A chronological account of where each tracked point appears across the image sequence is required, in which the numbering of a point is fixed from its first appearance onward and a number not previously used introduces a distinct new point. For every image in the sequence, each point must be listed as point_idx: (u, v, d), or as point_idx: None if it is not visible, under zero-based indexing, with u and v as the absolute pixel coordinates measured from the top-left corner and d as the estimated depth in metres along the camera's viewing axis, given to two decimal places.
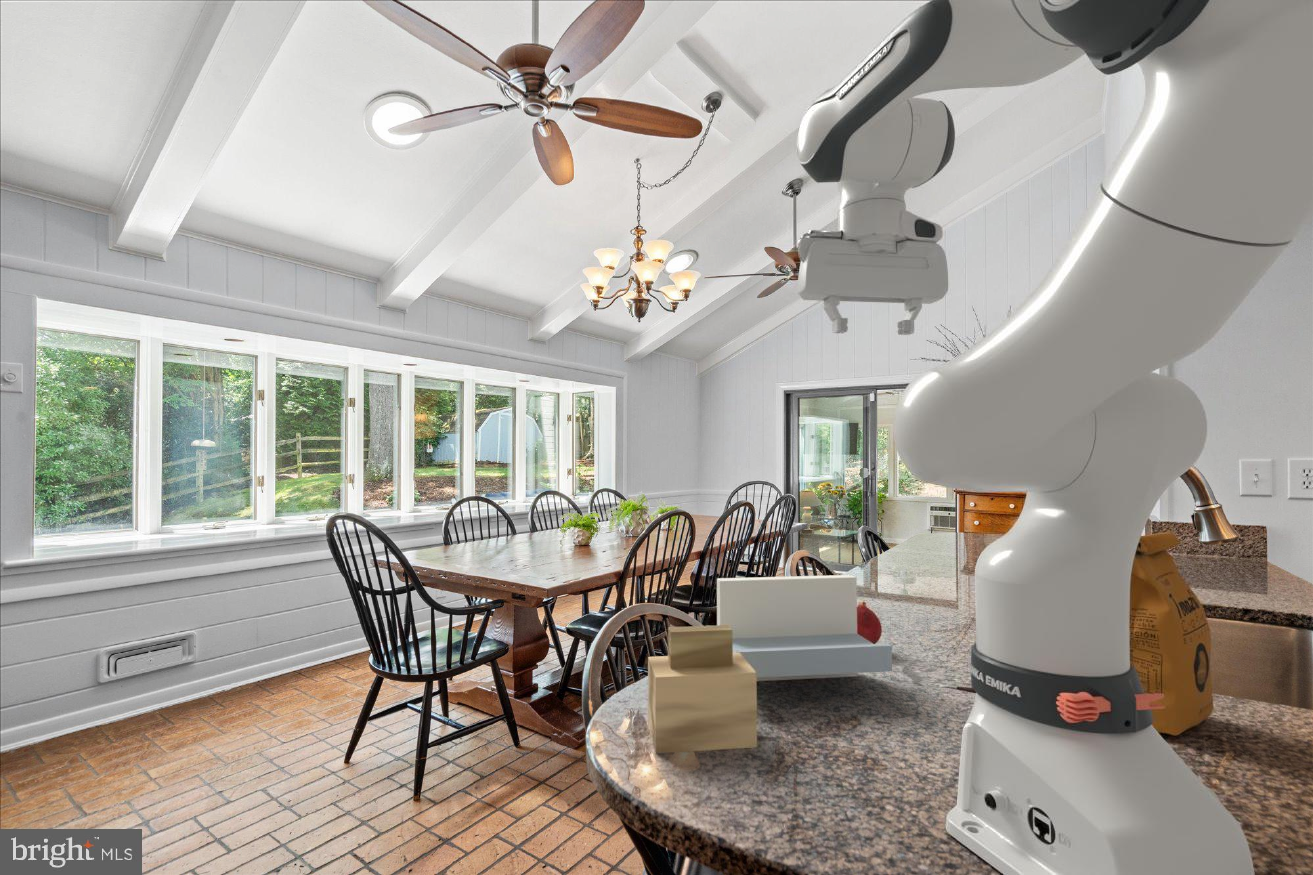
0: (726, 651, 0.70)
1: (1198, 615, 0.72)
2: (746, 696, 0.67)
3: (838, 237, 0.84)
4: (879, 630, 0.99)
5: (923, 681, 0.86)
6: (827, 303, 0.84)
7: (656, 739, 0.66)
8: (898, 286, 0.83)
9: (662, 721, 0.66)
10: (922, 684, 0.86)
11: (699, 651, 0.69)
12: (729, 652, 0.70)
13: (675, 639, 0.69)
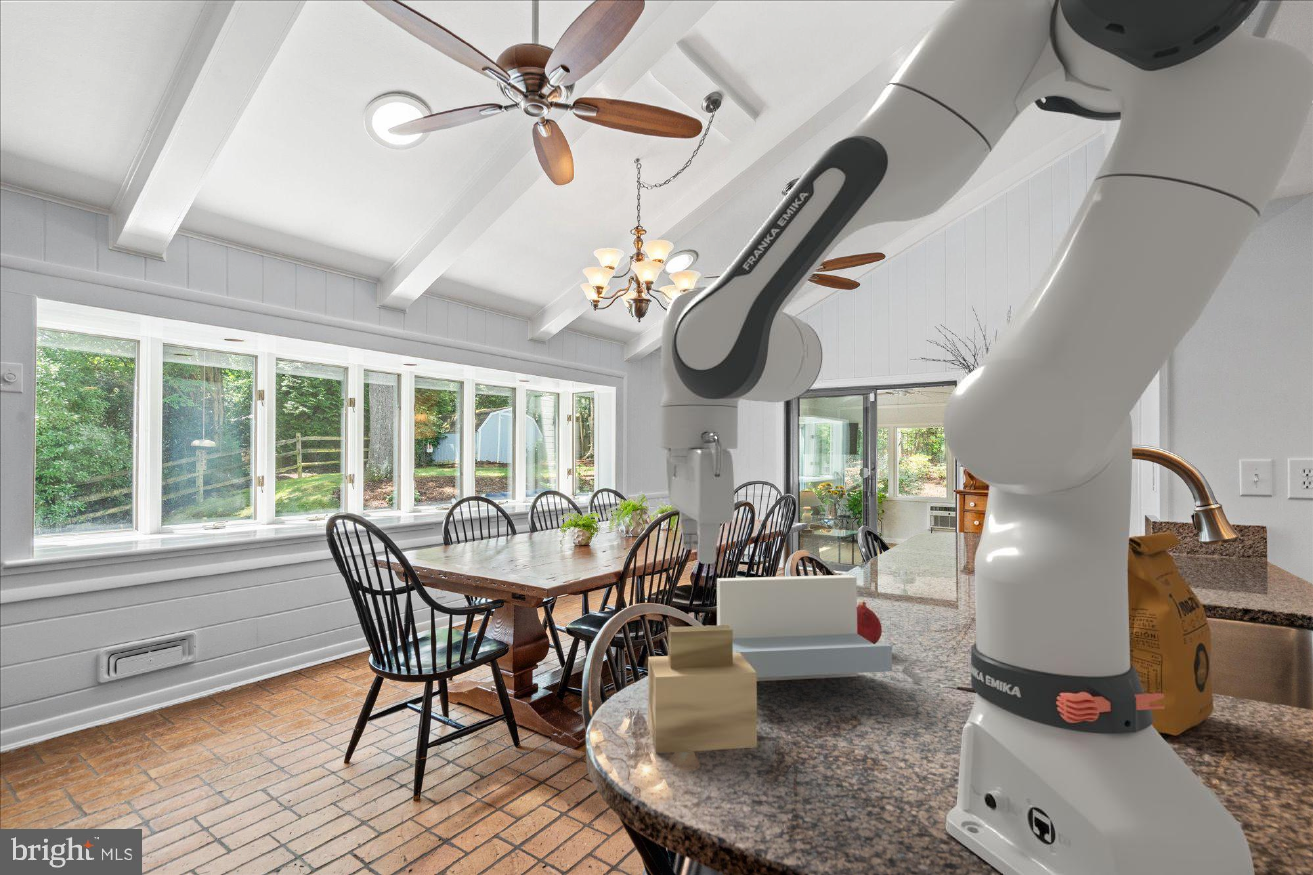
0: (726, 651, 0.70)
1: (1198, 615, 0.72)
2: (746, 696, 0.67)
3: None
4: (879, 630, 0.99)
5: (923, 682, 0.86)
6: (712, 527, 0.65)
7: (656, 739, 0.66)
8: None
9: (662, 721, 0.66)
10: (922, 684, 0.86)
11: (699, 651, 0.69)
12: (729, 652, 0.70)
13: (675, 639, 0.69)
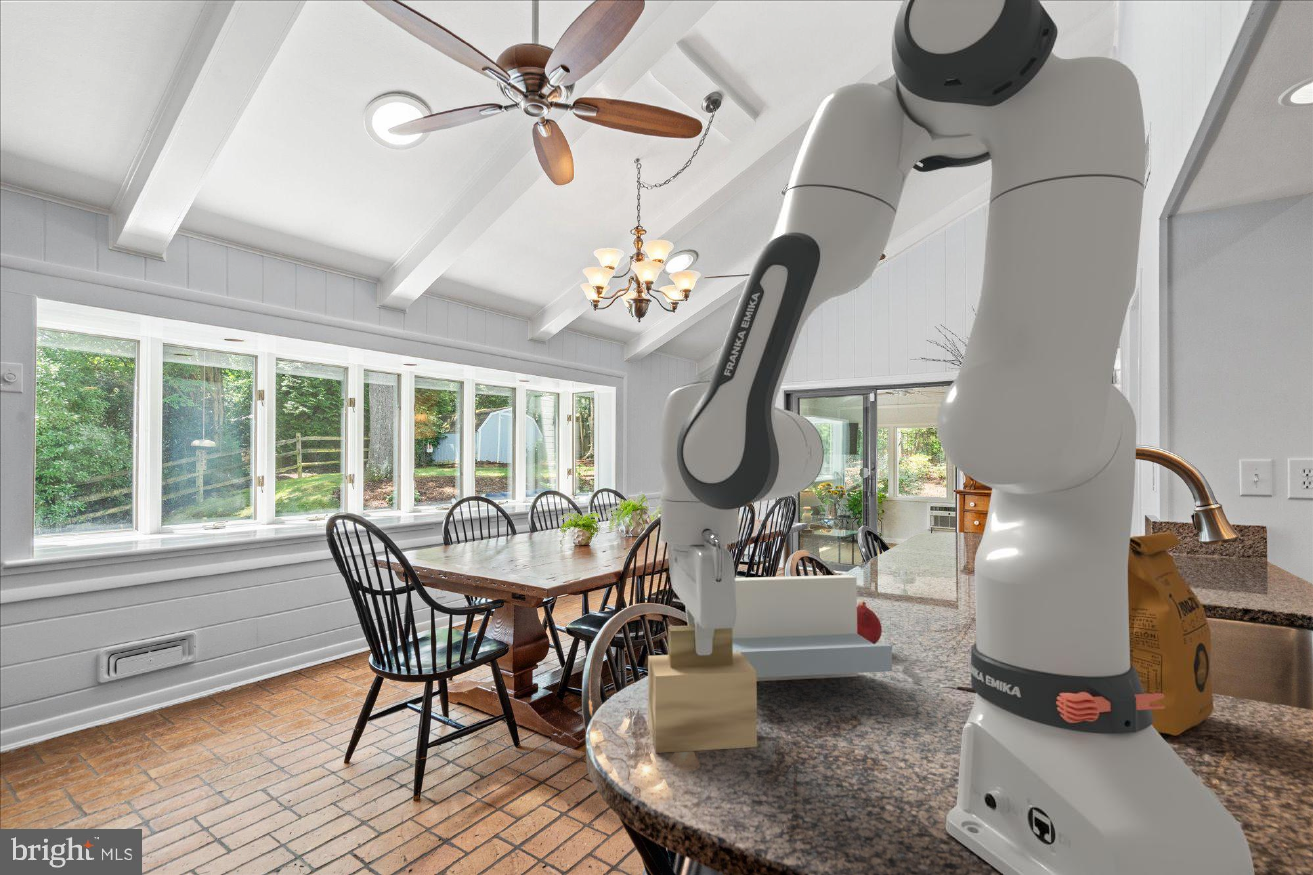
0: (726, 650, 0.70)
1: (1198, 615, 0.72)
2: (746, 695, 0.67)
3: None
4: (879, 630, 0.99)
5: (923, 682, 0.86)
6: None
7: (656, 738, 0.66)
8: None
9: (662, 720, 0.66)
10: (922, 684, 0.86)
11: None
12: (729, 651, 0.70)
13: (675, 638, 0.69)
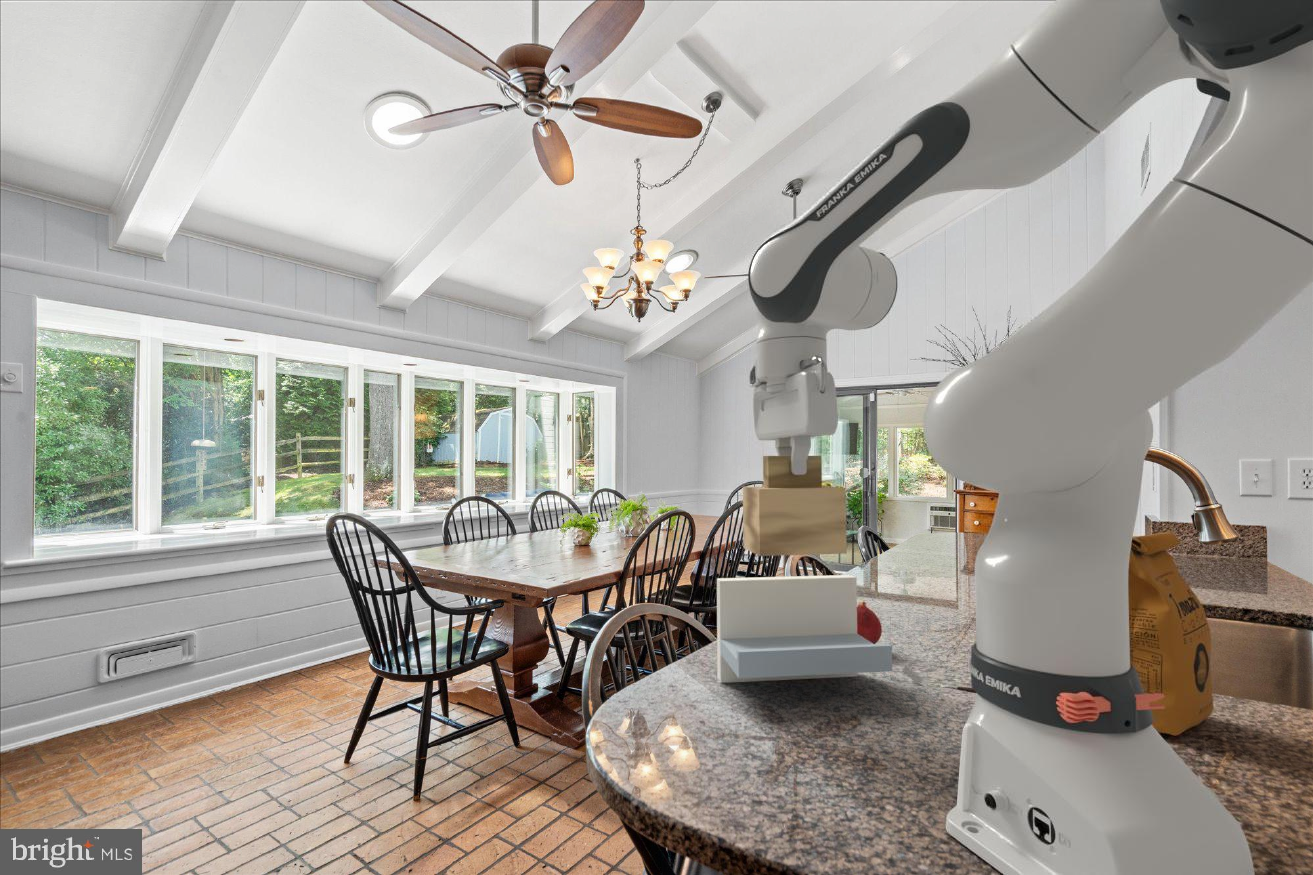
0: (816, 474, 0.79)
1: (1198, 615, 0.72)
2: (837, 508, 0.76)
3: None
4: (879, 630, 0.99)
5: (923, 682, 0.86)
6: (805, 443, 0.76)
7: (760, 543, 0.75)
8: None
9: (765, 527, 0.75)
10: (923, 684, 0.86)
11: None
12: (819, 475, 0.79)
13: (772, 462, 0.78)
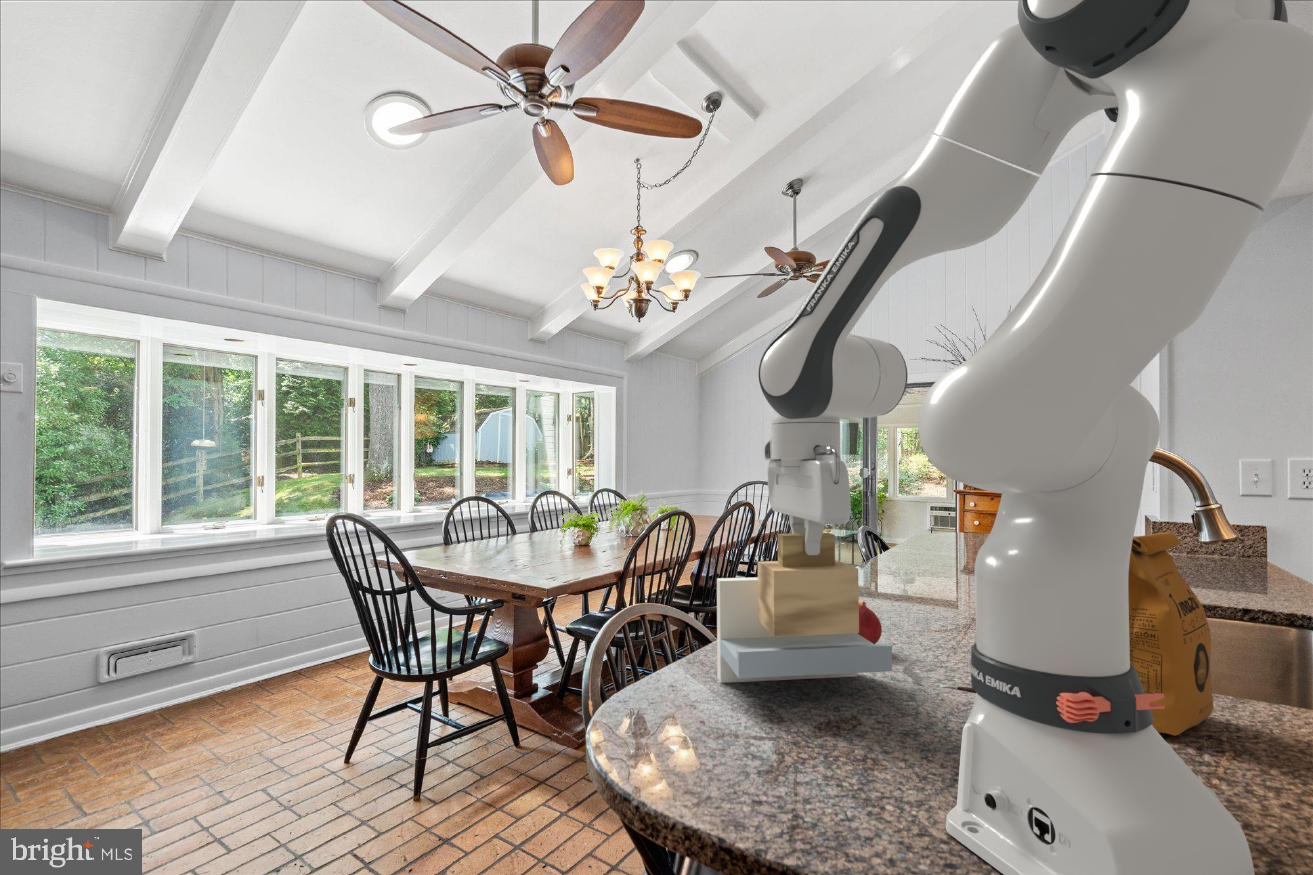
0: (829, 553, 0.81)
1: (1198, 615, 0.72)
2: (850, 589, 0.79)
3: None
4: (879, 630, 0.99)
5: (923, 682, 0.86)
6: (818, 525, 0.78)
7: (774, 623, 0.77)
8: None
9: (779, 608, 0.77)
10: (923, 684, 0.85)
11: None
12: (832, 554, 0.81)
13: (786, 542, 0.80)
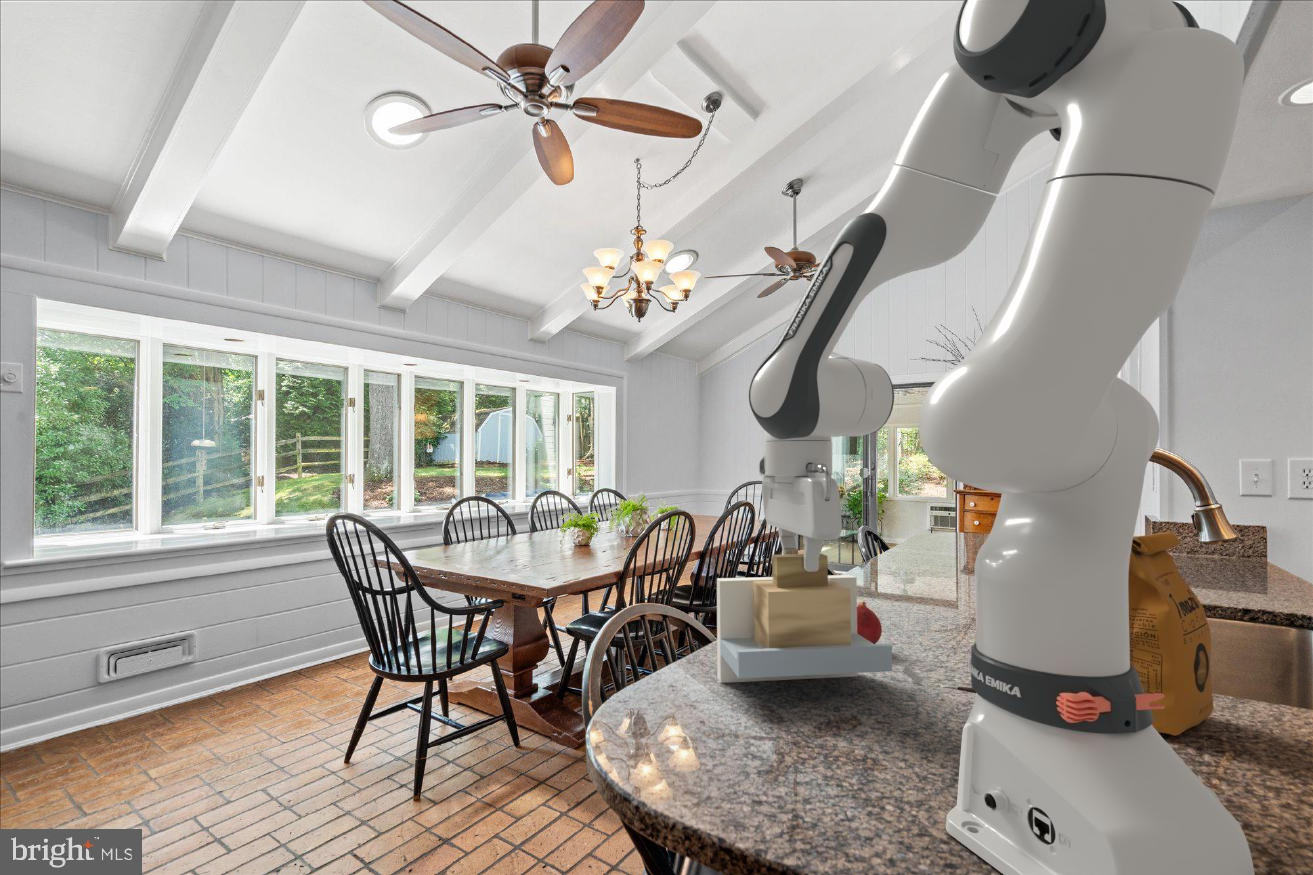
0: (822, 573, 0.84)
1: (1198, 615, 0.72)
2: (842, 609, 0.81)
3: None
4: (879, 630, 0.99)
5: (923, 682, 0.86)
6: (817, 542, 0.79)
7: (769, 643, 0.80)
8: None
9: (774, 628, 0.80)
10: (923, 684, 0.85)
11: (800, 573, 0.83)
12: (825, 574, 0.84)
13: (781, 563, 0.83)
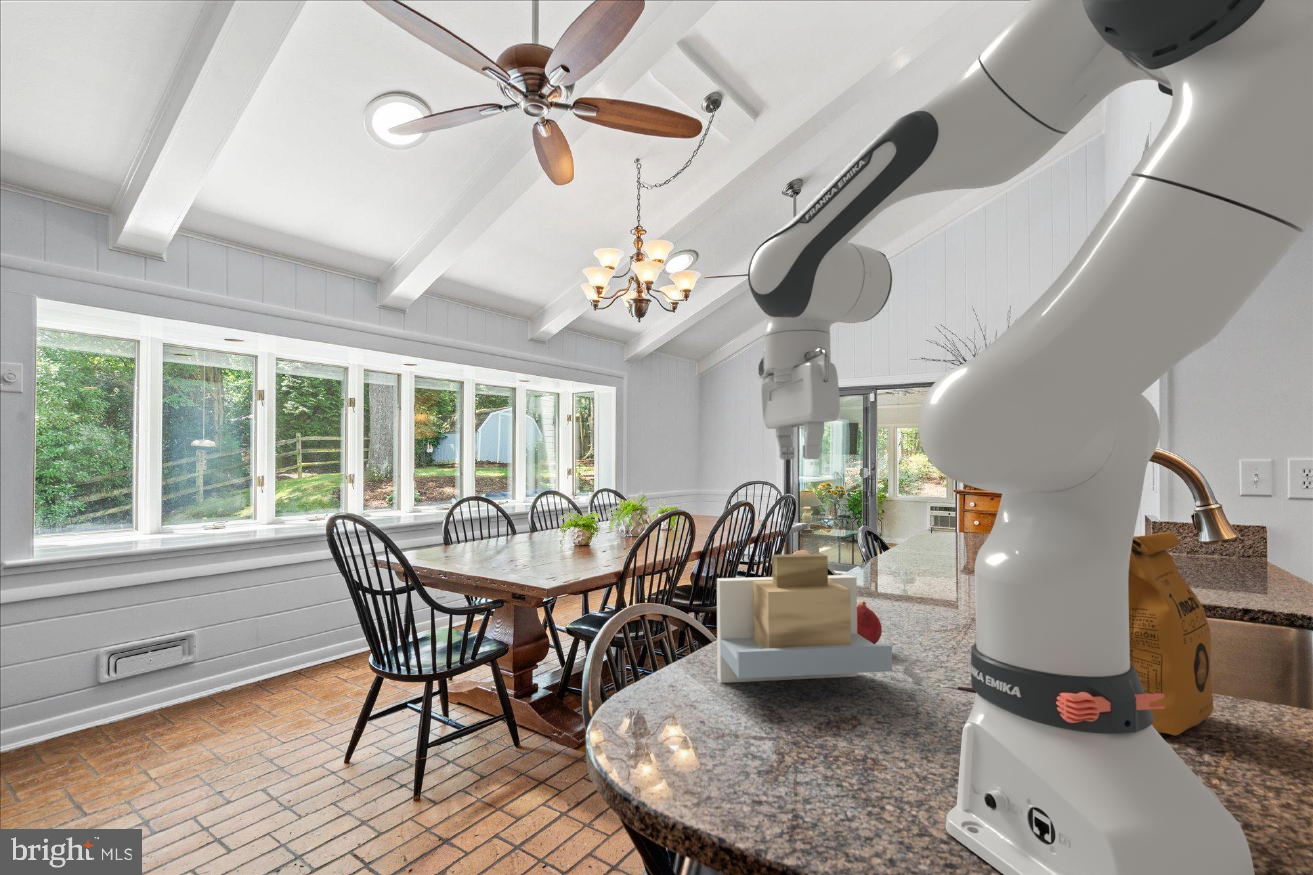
0: (822, 573, 0.84)
1: (1198, 615, 0.72)
2: (842, 609, 0.81)
3: None
4: (879, 630, 0.99)
5: (924, 682, 0.86)
6: (818, 428, 0.79)
7: (769, 643, 0.80)
8: None
9: (774, 628, 0.80)
10: (923, 684, 0.85)
11: (800, 573, 0.83)
12: (825, 574, 0.84)
13: (781, 563, 0.83)
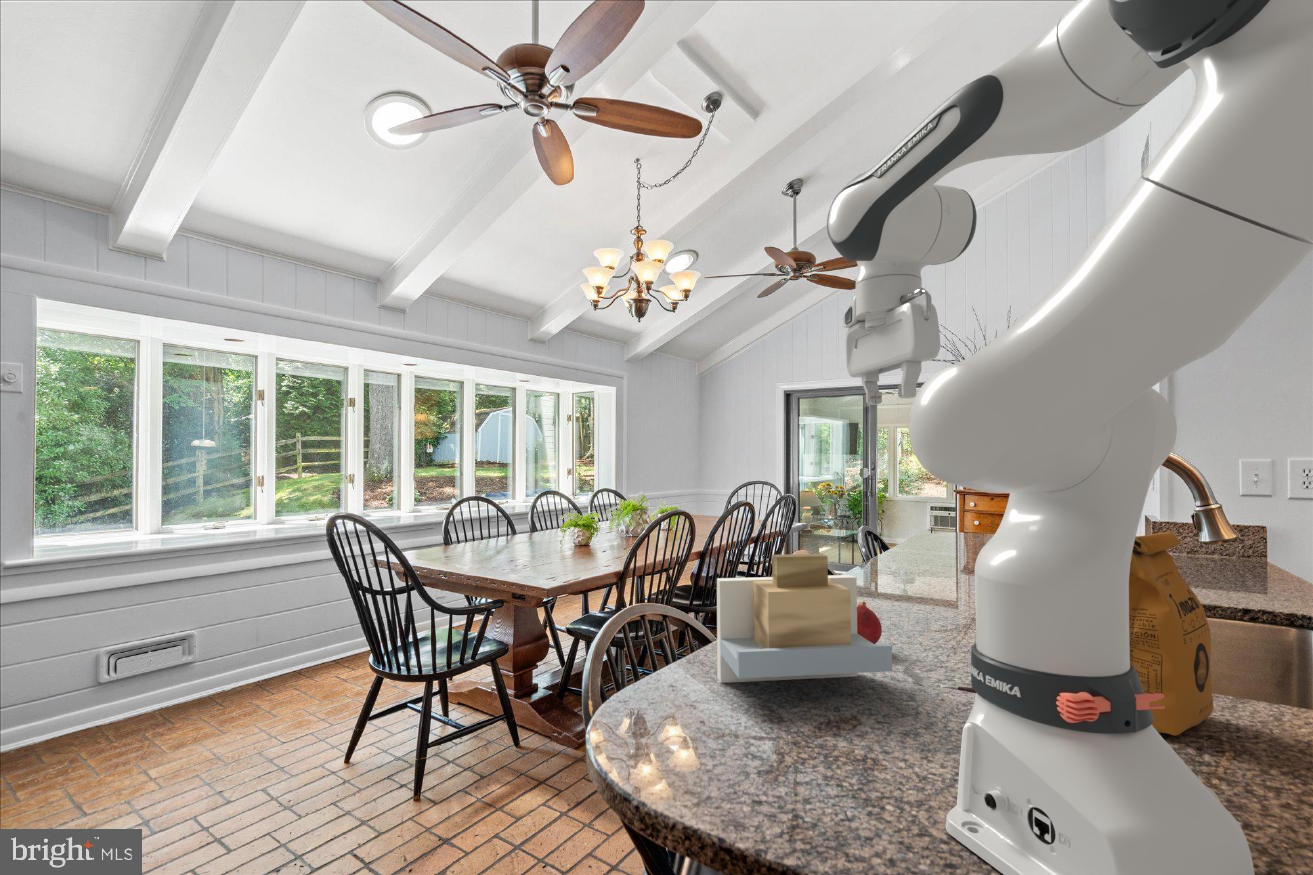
0: (822, 573, 0.84)
1: (1198, 615, 0.72)
2: (842, 609, 0.81)
3: None
4: (879, 630, 0.99)
5: (924, 682, 0.86)
6: (916, 367, 0.82)
7: (769, 643, 0.80)
8: None
9: (774, 628, 0.80)
10: (923, 684, 0.85)
11: (800, 573, 0.83)
12: (825, 574, 0.84)
13: (781, 563, 0.83)
